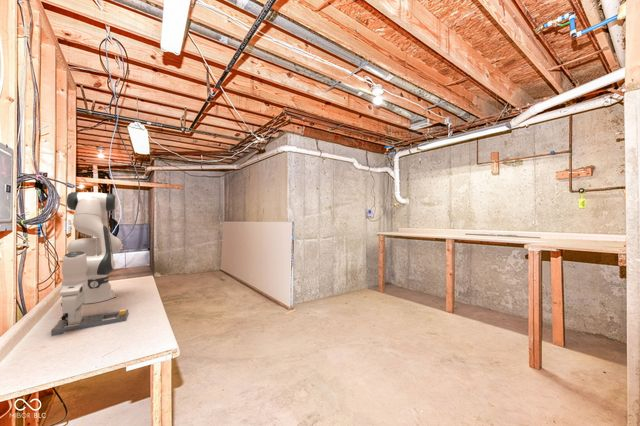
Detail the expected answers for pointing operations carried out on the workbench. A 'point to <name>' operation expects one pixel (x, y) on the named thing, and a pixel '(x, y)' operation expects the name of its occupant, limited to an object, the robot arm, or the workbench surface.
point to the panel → (89, 322)
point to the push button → (64, 316)
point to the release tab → (122, 312)
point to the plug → (76, 317)
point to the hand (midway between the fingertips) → (75, 316)
